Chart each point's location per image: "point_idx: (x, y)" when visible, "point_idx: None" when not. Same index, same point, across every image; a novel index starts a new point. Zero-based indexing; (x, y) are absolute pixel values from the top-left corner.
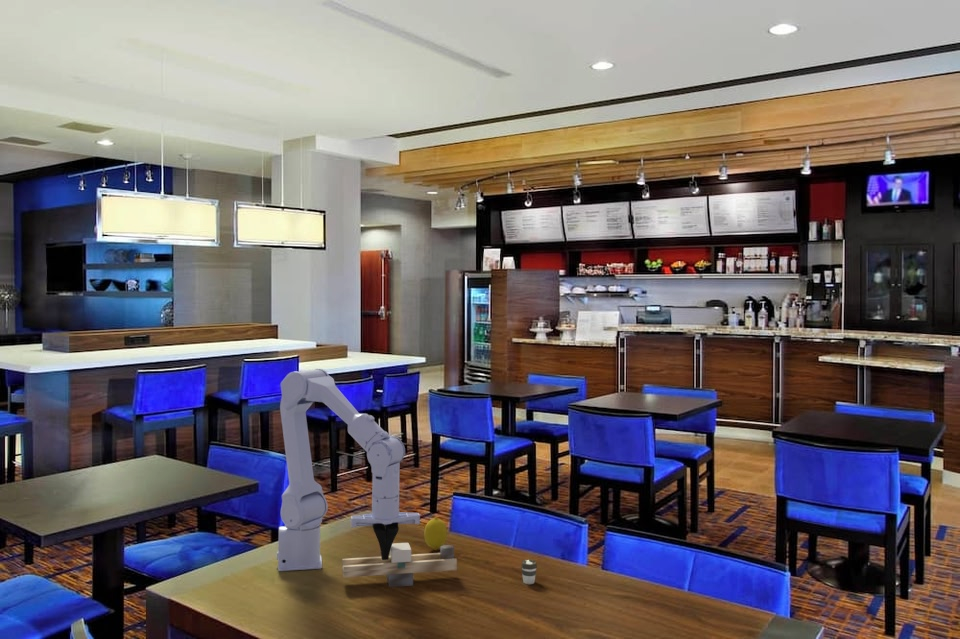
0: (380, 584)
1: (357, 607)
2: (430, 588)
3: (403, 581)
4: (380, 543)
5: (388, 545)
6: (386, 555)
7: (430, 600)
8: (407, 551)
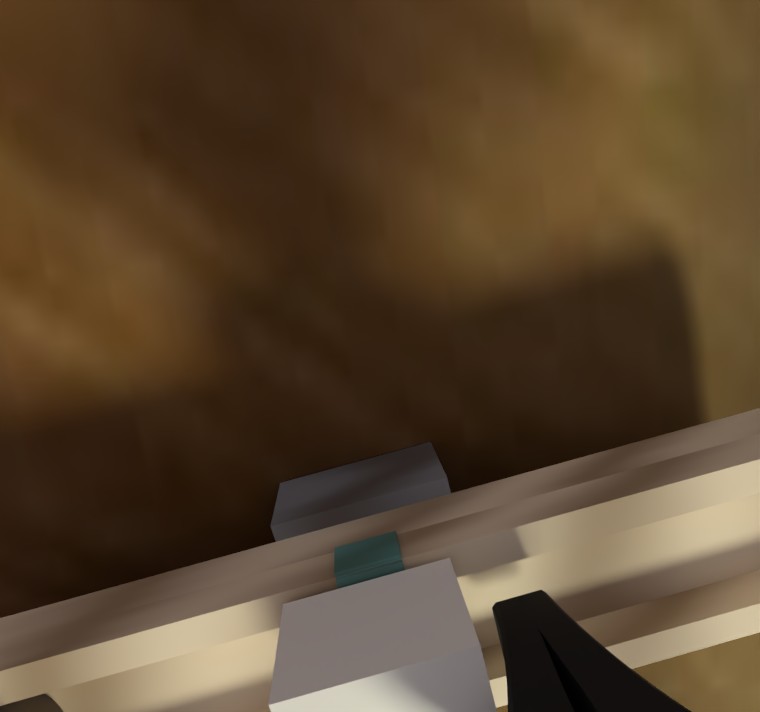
0: (491, 479)
1: (606, 85)
2: (153, 448)
3: (342, 479)
4: (663, 703)
5: (547, 706)
6: (523, 619)
7: (111, 241)
8: (312, 674)
